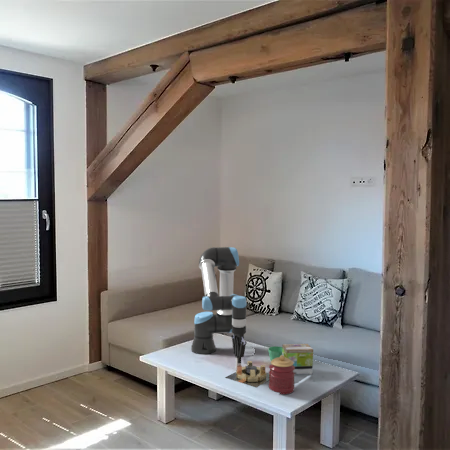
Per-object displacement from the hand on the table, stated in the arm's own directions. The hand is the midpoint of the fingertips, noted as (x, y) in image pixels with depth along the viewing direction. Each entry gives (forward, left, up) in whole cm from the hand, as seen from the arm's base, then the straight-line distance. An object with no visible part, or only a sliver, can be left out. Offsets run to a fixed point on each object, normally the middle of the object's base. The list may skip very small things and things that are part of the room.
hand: (238, 368), depth 260 cm
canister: (+26, +1, -5) cm, 27 cm away
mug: (+8, +29, -5) cm, 31 cm away
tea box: (+21, +26, -5) cm, 34 cm away
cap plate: (+6, +3, -5) cm, 9 cm away
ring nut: (+6, +3, -4) cm, 8 cm away
